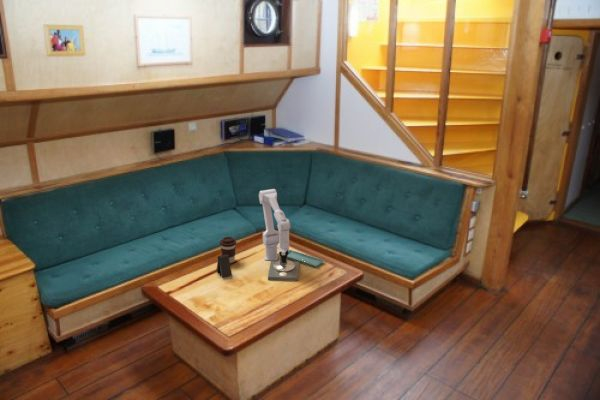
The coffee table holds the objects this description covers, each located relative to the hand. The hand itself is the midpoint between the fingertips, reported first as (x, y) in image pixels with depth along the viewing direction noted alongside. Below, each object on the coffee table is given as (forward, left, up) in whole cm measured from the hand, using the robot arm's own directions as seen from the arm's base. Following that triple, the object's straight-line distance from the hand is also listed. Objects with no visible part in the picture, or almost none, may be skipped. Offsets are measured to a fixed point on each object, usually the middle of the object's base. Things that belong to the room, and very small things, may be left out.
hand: (284, 260), depth 291 cm
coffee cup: (-9, -35, -6) cm, 37 cm away
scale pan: (0, 0, -4) cm, 4 cm away
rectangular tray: (-13, +11, -7) cm, 19 cm away
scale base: (+3, 0, -6) cm, 7 cm away
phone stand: (+7, -35, -6) cm, 36 cm away
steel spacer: (0, 0, -2) cm, 2 cm away
